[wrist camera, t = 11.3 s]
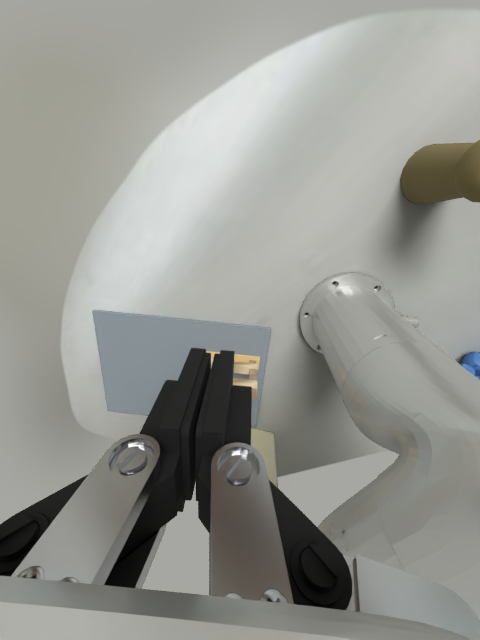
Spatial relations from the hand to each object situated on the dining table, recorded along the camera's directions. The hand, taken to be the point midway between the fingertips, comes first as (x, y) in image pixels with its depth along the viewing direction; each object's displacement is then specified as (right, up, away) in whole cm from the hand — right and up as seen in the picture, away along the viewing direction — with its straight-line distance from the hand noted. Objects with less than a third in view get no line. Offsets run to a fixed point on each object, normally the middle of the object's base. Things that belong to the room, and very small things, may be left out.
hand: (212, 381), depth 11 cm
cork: (+22, +19, +20) cm, 36 cm away
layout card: (-8, -6, +33) cm, 35 cm away
